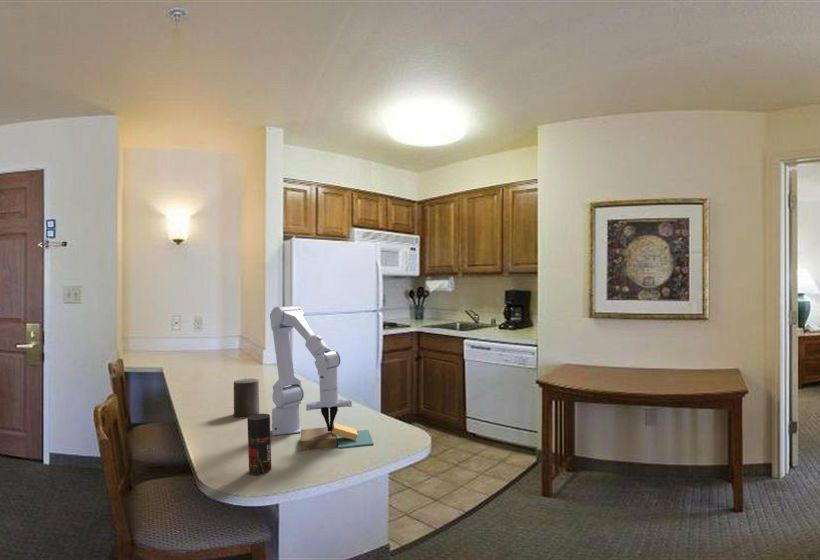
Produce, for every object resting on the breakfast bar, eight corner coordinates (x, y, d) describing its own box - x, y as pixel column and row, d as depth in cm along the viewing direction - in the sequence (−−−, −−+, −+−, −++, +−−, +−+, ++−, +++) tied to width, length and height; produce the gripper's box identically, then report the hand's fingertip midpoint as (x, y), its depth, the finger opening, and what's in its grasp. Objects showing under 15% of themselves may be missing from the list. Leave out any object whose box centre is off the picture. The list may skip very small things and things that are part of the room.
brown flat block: (300, 451, 140) (300, 441, 140) (301, 438, 152) (301, 429, 152) (336, 447, 143) (336, 438, 143) (334, 435, 154) (334, 426, 154)
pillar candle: (239, 419, 177) (238, 380, 177) (230, 414, 184) (229, 377, 184) (263, 414, 183) (263, 377, 183) (253, 409, 191) (253, 373, 191)
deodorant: (252, 467, 129) (250, 414, 129) (273, 465, 130) (271, 413, 130) (246, 475, 123) (244, 420, 123) (268, 474, 124) (267, 419, 124)
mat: (338, 448, 142) (338, 446, 142) (336, 434, 155) (336, 432, 155) (373, 444, 144) (373, 443, 144) (368, 431, 158) (368, 429, 158)
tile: (332, 433, 145) (334, 427, 146) (331, 428, 151) (333, 422, 151) (355, 440, 147) (357, 434, 147) (354, 435, 152) (356, 429, 153)
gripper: (305, 393, 143) (306, 436, 143) (351, 389, 146) (353, 431, 146) (306, 388, 150) (307, 429, 150) (350, 384, 153) (351, 425, 153)
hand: (329, 430), depth 148 cm, fingers closed
